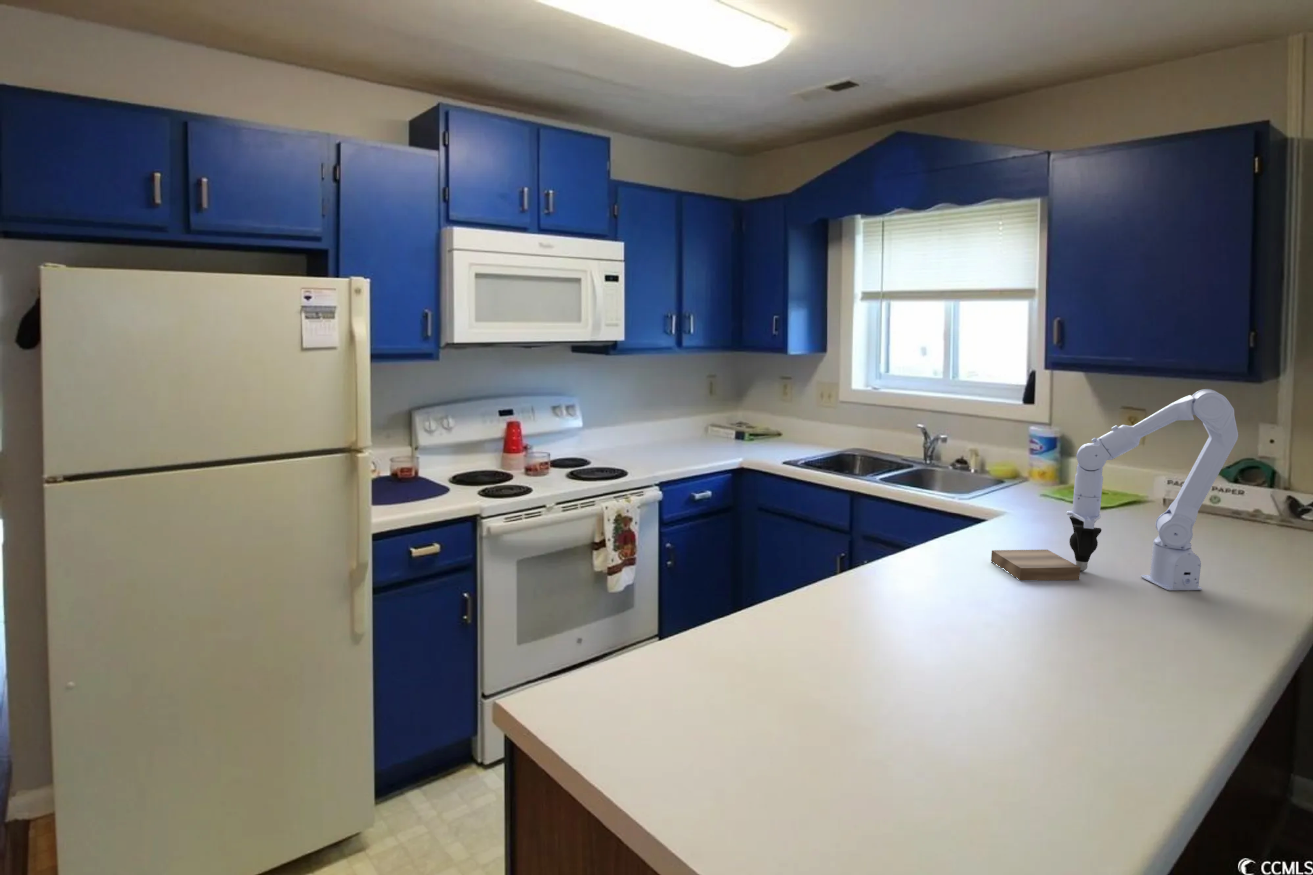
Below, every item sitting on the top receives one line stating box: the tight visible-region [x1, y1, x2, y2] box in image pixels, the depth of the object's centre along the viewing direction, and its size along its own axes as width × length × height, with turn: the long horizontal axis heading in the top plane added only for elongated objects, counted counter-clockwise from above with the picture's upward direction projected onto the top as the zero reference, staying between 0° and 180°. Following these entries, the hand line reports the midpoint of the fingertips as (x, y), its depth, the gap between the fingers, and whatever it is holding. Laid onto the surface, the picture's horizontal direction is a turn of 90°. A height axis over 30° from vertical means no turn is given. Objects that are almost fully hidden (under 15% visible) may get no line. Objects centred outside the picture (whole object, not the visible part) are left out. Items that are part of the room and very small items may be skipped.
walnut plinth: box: [990, 549, 1081, 581], centre depth 189 cm, size 14×14×3 cm
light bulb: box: [1068, 531, 1099, 573], centre depth 188 cm, size 6×6×10 cm
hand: (1082, 551), depth 188 cm, fingers open, 7 cm apart
